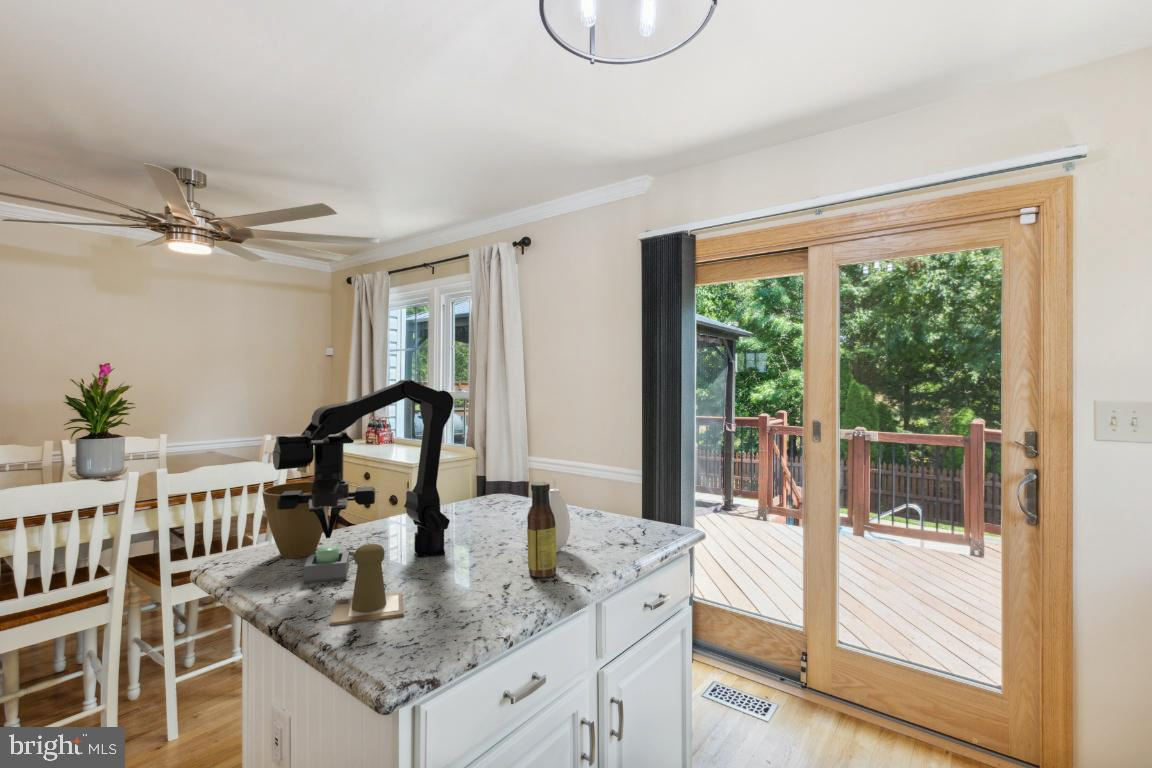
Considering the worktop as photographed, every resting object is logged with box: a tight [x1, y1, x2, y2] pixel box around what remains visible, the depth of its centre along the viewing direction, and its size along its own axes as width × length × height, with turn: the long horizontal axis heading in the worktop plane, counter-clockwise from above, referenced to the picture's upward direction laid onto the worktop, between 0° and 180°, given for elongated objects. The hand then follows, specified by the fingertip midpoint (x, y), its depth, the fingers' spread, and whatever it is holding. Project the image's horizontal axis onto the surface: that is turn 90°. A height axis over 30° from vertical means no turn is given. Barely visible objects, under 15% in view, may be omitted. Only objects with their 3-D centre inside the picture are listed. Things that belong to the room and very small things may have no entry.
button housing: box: [303, 550, 350, 584], centre depth 115 cm, size 8×8×4 cm
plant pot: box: [261, 481, 330, 559], centre depth 128 cm, size 15×15×16 cm
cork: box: [351, 543, 386, 612], centre depth 98 cm, size 6×6×11 cm
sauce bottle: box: [526, 481, 558, 579], centre depth 117 cm, size 7×6×20 cm
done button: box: [315, 545, 340, 564], centre depth 115 cm, size 4×4×3 cm
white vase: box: [549, 479, 571, 552], centre depth 133 cm, size 8×8×18 cm
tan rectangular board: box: [329, 591, 405, 626], centre depth 98 cm, size 12×10×1 cm
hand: (328, 537), depth 115 cm, fingers closed
